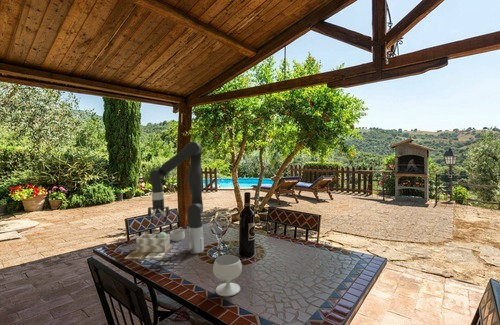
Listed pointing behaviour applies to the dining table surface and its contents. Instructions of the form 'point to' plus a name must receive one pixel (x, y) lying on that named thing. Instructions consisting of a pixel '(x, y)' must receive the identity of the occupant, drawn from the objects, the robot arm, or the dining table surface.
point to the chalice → (227, 274)
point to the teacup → (177, 235)
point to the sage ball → (162, 235)
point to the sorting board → (151, 247)
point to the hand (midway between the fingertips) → (159, 221)
